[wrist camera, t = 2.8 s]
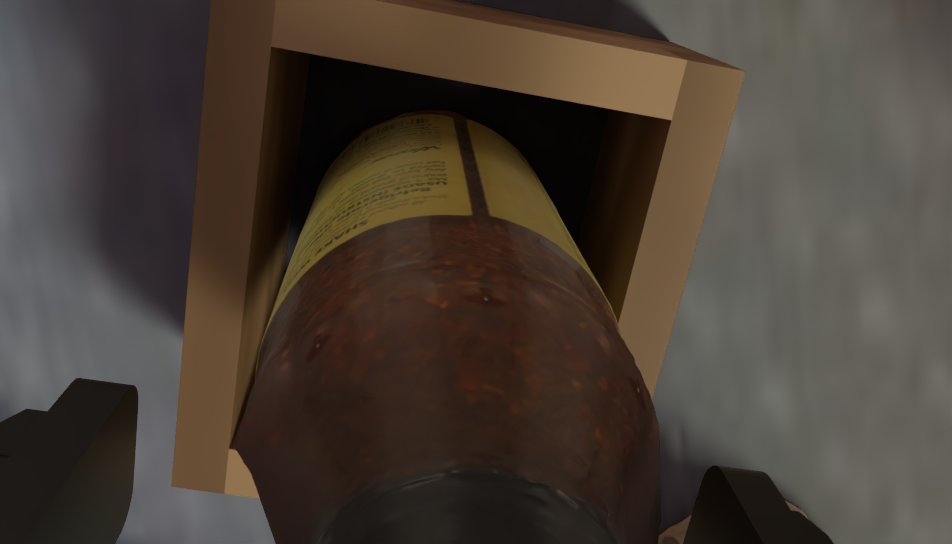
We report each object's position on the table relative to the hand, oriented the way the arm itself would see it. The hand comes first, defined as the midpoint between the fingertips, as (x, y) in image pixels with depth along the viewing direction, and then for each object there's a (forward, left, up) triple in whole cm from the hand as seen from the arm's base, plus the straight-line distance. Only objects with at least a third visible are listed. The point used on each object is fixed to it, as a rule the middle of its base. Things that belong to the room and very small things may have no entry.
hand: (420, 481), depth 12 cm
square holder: (0, 0, -13) cm, 13 cm away
